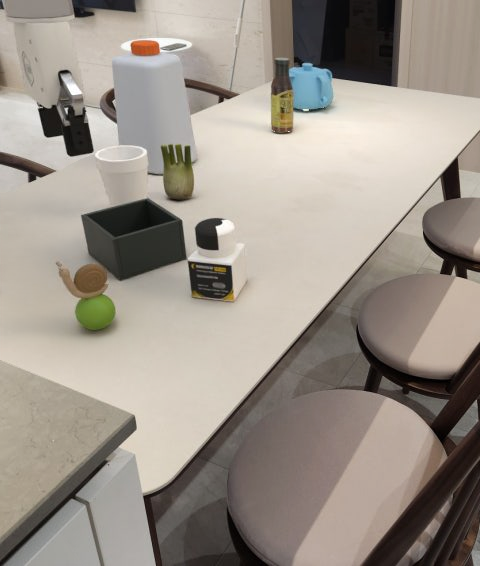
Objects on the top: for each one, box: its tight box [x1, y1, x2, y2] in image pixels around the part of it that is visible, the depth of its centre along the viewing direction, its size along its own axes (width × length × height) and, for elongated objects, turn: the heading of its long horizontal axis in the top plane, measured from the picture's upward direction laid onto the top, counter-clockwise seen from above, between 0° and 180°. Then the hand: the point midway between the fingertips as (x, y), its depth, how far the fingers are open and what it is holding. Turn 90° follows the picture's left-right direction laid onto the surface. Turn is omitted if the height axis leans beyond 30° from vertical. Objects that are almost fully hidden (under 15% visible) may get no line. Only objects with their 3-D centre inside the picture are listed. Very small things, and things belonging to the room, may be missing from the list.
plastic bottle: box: [111, 39, 198, 175], centre depth 147 cm, size 15×15×28 cm
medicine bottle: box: [187, 217, 248, 303], centre depth 102 cm, size 7×7×12 cm
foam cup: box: [94, 145, 149, 207], centre depth 124 cm, size 10×9×13 cm
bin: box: [80, 197, 188, 281], centre depth 111 cm, size 12×12×8 cm
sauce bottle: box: [270, 57, 294, 133], centre depth 176 cm, size 7×6×20 cm
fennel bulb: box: [161, 144, 195, 201], centre depth 133 cm, size 6×5×12 cm
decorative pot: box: [289, 62, 334, 110], centre depth 201 cm, size 16×16×14 cm
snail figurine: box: [55, 260, 117, 331], centre depth 91 cm, size 5×6×12 cm
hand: (68, 144), depth 85 cm, fingers open, 9 cm apart
